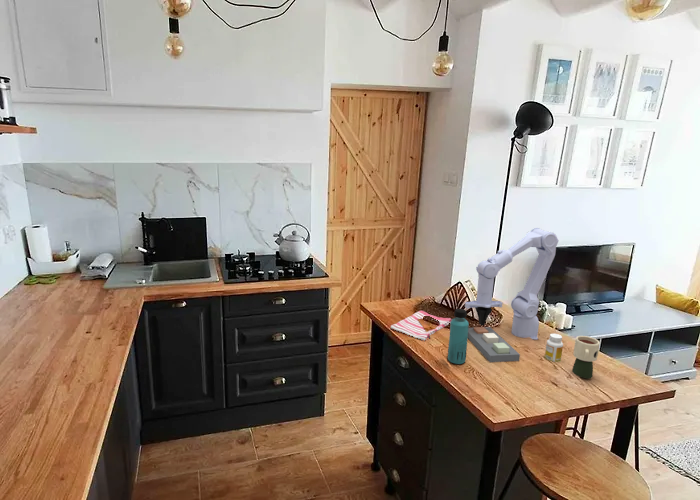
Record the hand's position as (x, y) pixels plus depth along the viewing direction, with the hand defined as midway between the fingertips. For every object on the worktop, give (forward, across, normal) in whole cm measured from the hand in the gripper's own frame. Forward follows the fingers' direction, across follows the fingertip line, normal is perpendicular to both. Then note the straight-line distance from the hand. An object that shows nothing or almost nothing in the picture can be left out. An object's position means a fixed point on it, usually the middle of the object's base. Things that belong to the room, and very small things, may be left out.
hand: (481, 324), depth 176 cm
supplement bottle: (+7, +19, -20) cm, 28 cm away
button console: (+6, 0, -8) cm, 11 cm away
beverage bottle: (+6, -17, -18) cm, 26 cm away
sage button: (+4, 0, -17) cm, 17 cm away
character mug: (+7, +23, -30) cm, 39 cm away
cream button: (+4, 0, -8) cm, 9 cm away
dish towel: (+7, -20, +14) cm, 25 cm away
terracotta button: (+5, 0, 0) cm, 5 cm away
